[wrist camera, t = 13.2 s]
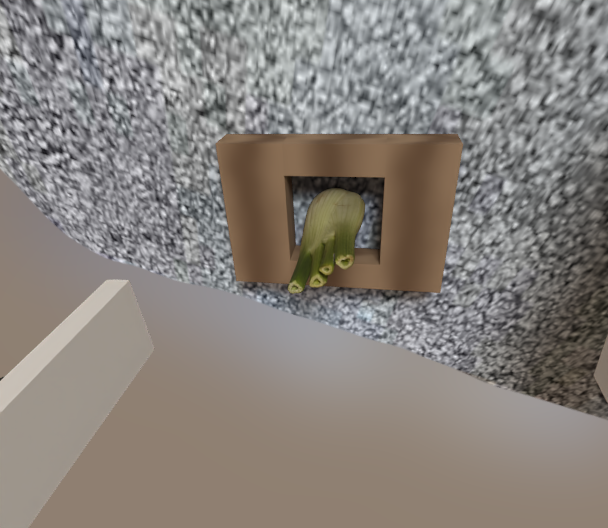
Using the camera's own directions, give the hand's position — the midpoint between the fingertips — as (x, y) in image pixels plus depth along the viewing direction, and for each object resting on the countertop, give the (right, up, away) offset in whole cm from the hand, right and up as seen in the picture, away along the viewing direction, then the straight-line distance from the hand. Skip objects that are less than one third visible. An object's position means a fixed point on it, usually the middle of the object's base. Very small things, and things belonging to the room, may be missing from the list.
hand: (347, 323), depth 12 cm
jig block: (+2, +7, +28) cm, 29 cm away
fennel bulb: (+2, +7, +29) cm, 30 cm away
